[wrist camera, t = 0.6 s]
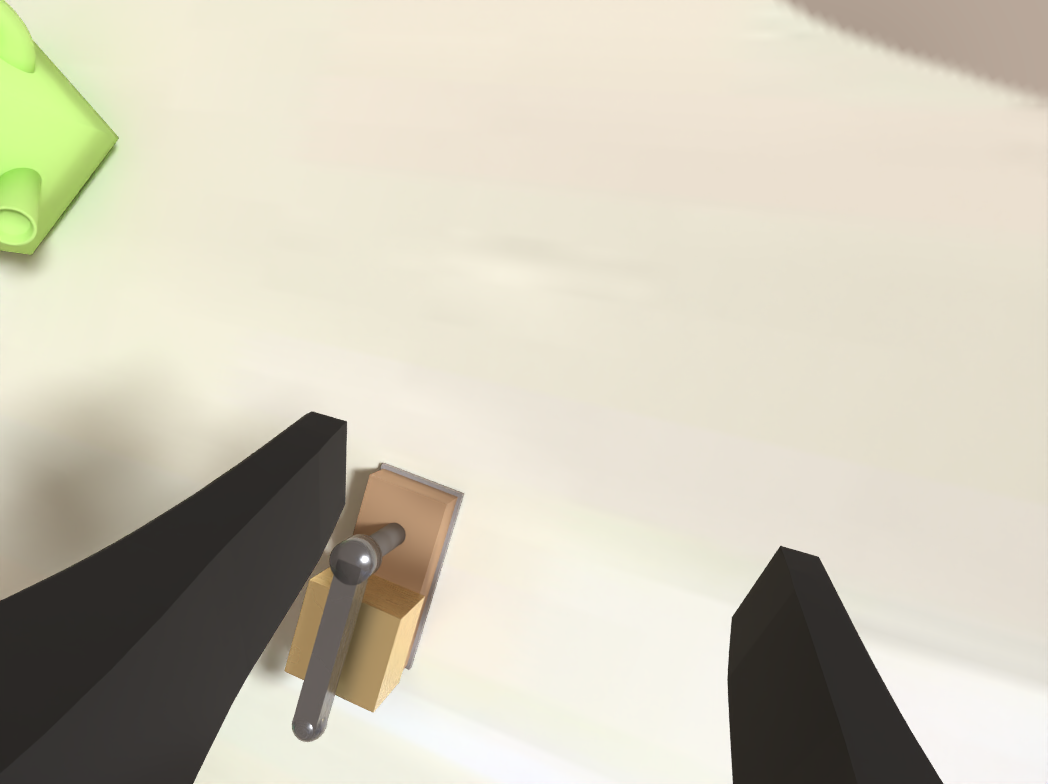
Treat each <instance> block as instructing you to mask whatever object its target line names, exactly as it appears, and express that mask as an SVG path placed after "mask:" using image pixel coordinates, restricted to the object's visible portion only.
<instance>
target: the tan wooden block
mask: <svg viewBox="0 0 1048 784" xmlns="http://www.w3.org/2000/svg"><path fill="white" fill-rule="evenodd" d="M332 579H333V573H332V571H331V568H330V567H329V568H327V569H326V570H324V571H322V572H321V573H319V574H318V575H316V576H315V577H313V578H311V579H310V580H309V583H308V587H307V590H306V594H305V598H304V601H303V605H302V609H301V612H300V616H299V620H298V623H297V627H296V630H295V634H294V638H293V641H292V645H291V649H290V652H289V656H288V660H287V663H286V667H285V672H287V673H289V674H292V675H294V676H296V677H298V678H300V679H302V680H304V679H305V675H306V672H307V668H308V665H309V661H310V657H311V654H312V650H313V647H314V643H315V640H316V636H317V632H318V629H319V625H320V622H321V618H322V615H323V611H324V607H325V604H326V600H327V597H328V593H329V590H330V586H331V582H332ZM424 598H425V596H423V595H421V594H419V593H416V592H414V591H412V590H409V589H407V588H404V587H402V586H400V585H397V584H395V583H393V582H390V581H388V580H385V579H383V578H381V577H378V576H376V575H374V574H373V575H371V576H370V577H369V578H368V582H367V585H366V589H365V592H364V596H363V599H362V603H361V606H360V609H359V613H358V616H357V620H356V623H355V627H354V630H353V634H352V637H351V641H350V644H349V648H348V651H347V655H346V658H345V662H344V665H343V669H342V672H341V676H340V679H339V682H338V686H337V689H336V693H335V695H337V696H339V697H341V698H343V699H345V700H347V701H349V702H352V703H354V704H356V705H358V706H360V707H362V708H364V709H367V710H369V711H371V712H374V711H375V710H376V709H377V708H378V707H379V705H380V704H381V703H382V702H383V701H384V700H385V698H386V697H387V696H388V695H389V694H390V692H391V691H392V690H393V689H394V688H395V687H396V685H397V684H398V683H399V681H400V678H401V674H402V671H403V668H404V664H405V661H406V658H407V654H408V651H409V648H410V644H411V641H412V638H413V634H414V631H415V628H416V625H417V621H418V618H419V615H420V611H421V608H422V605H423V601H424Z"/></svg>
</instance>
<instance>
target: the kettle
mask: <svg viewBox="0 0 1048 784" xmlns="http://www.w3.org/2000/svg"><path fill="white" fill-rule="evenodd" d="M118 139H119V137H118V136H117V135H116V134H115V133H114V132H113V130H112V129H111V128H110V127H109V126H108V125H107V124H106V122H105V121H104V120H103V119H102V118H101V117H100V116H99V115H98V113H97V112H96V111H95V110H94V109H93V108H92V107H91V105H90V104H89V103H88V102H87V101H86V100H85V99H84V98H83V96H82V95H81V94H80V93H79V92H78V91H77V90H76V88H75V87H74V86H73V85H72V84H71V83H70V82H69V81H68V79H67V78H66V77H65V76H64V75H63V74H62V73H61V71H60V70H59V69H58V68H57V67H56V66H55V65H54V64H53V62H52V61H51V60H50V59H49V58H48V57H47V56H46V55H45V53H44V52H43V51H42V50H41V49H40V48H39V47H38V46H37V44H36V43H35V42H34V41H33V40H32V37H31V35H30V33H29V31H28V29H27V27H26V25H25V24H24V22H23V21H22V20H21V18H20V17H19V16H18V15H17V13H16V12H15V11H14V10H13V8H12V7H10V6H9V5H8V4H7V3H6V2H5V1H4V0H0V251H7V252H15V253H22V254H30V255H32V254H33V253H34V251H35V250H36V249H37V247H38V246H39V244H40V243H41V242H42V240H43V239H44V238H45V236H46V235H47V234H48V232H49V231H50V230H51V228H52V227H53V226H54V224H55V223H56V222H57V220H58V219H59V218H60V216H61V215H62V214H63V212H64V211H65V210H66V208H67V207H68V206H69V204H70V203H71V202H72V200H73V199H74V198H75V196H76V195H77V194H78V192H79V191H80V190H81V188H82V187H83V186H84V184H85V183H86V182H87V180H88V179H89V178H90V176H91V175H92V174H93V172H94V171H95V170H96V168H97V167H98V166H99V164H100V163H101V162H102V160H103V159H104V158H105V156H106V155H107V154H108V152H109V151H110V149H111V148H112V147H113V145H114V144H115V143H116V141H117V140H118Z"/></svg>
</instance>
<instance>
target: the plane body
mask: <svg viewBox="0 0 1048 784" xmlns="http://www.w3.org/2000/svg"><path fill="white" fill-rule="evenodd" d="M463 496H464V493H462V492H459V491H456V490H454V489H451V488H449V487H446V486H443V485H441V484H438V483H436V482H433V481H430V480H428V479H425V478H422V477H420V476H417V475H415V474H412V473H409V472H407V471H404V470H401V469H399V468H396V467H394V466H391V465H388V464H386V463H383V464H382V465H381V468H380V470H379V471H377V472H375V473H372V474H370V476H369V479H368V483H367V486H366V490H365V493H364V497H363V501H362V504H361V508H360V511H359V515H358V518H357V522H356V525H355V529H354V533H353V536H354V535H357V534H364V535H368V536H370V537H371V538H373V539H374V540H375V541H376V542H377V543H378V545H379V546H380V549H381V552H382V563H381V566H380V568H379V569H378V570H377V571H376V572H375V573H374V575H376V576H378V577H381V578H383V579H385V580H388V581H390V582H393V583H395V584H397V585H400V586H402V587H404V588H407V589H409V590H412V591H414V592H416V593H419V594H421V595H423V596H425V598H424V601H423V605H422V608H421V611H420V615H419V618H418V621H417V625H416V628H415V631H414V634H413V638H412V641H411V644H410V648H409V651H408V654H407V658H406V661H405V664H404V668H406V669H408V670H410V668H411V667H412V664H413V660H414V657H415V654H416V650H417V647H418V644H419V641H420V637H421V634H422V631H423V627H424V624H425V621H426V618H427V614H428V611H429V608H430V604H431V601H432V598H433V594H434V591H435V588H436V585H437V581H438V578H439V575H440V571H441V568H442V565H443V562H444V558H445V555H446V552H447V548H448V545H449V542H450V539H451V535H452V532H453V529H454V525H455V522H456V519H457V515H458V512H459V509H460V506H461V502H462V499H463ZM404 668H403V669H404Z"/></svg>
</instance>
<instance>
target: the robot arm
mask: <svg viewBox="0 0 1048 784" xmlns="http://www.w3.org/2000/svg"><path fill="white" fill-rule="evenodd" d="M346 442H347V421H343V420H340V419H336V418H333V417H329V416H326V415H323V414H319V413H316V412H310V413H308V414H306V415H304V416H303V417H302V418H300V419H299V420H298V421H296V422H295V423H294V424H292V425H291V426H290V427H288V428H287V429H286V430H284V431H283V432H281V433H280V434H279V435H277V436H276V437H275V438H273V439H272V440H271V441H269V442H268V443H267V444H265V445H264V446H263V447H261V448H260V449H258V450H257V451H256V452H254V453H253V454H251V455H250V456H249V457H247V458H246V459H245V460H243V461H242V462H240V463H239V464H238V465H236V466H235V467H233V468H232V469H230V470H229V471H227V472H226V473H224V474H223V475H221V476H220V477H219V478H217V479H216V480H214V481H213V482H211V483H210V484H208V485H207V486H205V487H204V488H202V489H201V490H200V491H198V492H197V493H195V494H194V495H192V496H190V497H189V498H187V499H186V500H184V501H183V502H181V503H179V504H178V505H176V506H175V507H173V508H171V509H170V510H168V511H167V512H165V513H163V514H162V515H160V516H158V517H157V518H155V519H154V520H152V521H150V522H149V523H147V524H146V525H144V526H142V527H141V528H139V529H137V530H136V531H134V532H132V533H131V534H129V535H127V536H125V537H124V538H122V539H120V540H118V541H117V542H115V543H113V544H111V545H110V546H108V547H106V548H104V549H102V550H101V551H99V552H97V553H95V554H93V555H91V556H89V557H88V558H86V559H84V560H82V561H80V562H78V563H76V564H74V565H72V566H71V567H69V568H67V569H65V570H63V571H61V572H59V573H57V574H55V575H53V576H51V577H49V578H47V579H45V580H42V581H40V582H38V583H36V584H34V585H32V586H30V587H28V588H26V589H24V590H22V591H20V592H18V593H16V594H14V595H12V596H10V597H8V598H5V599H3V600H1V601H0V784H193V783H194V781H195V779H196V776H197V774H198V772H199V770H200V768H201V766H202V764H203V762H204V760H205V758H206V756H207V754H208V752H209V750H210V748H211V746H212V744H213V742H214V740H215V738H216V736H217V734H218V731H219V729H220V727H221V725H222V723H223V721H224V719H225V717H226V715H227V713H228V711H229V709H230V707H231V705H232V703H233V701H234V700H235V698H236V696H237V694H238V693H239V691H240V689H241V687H242V685H243V684H244V682H245V680H246V678H247V677H248V675H249V673H250V672H251V670H252V668H253V667H254V665H255V663H256V662H257V660H258V659H259V657H260V655H261V654H262V652H263V651H264V649H265V647H266V646H267V644H268V642H269V641H270V639H271V638H272V636H273V634H274V633H275V631H276V629H277V628H278V626H279V625H280V623H281V621H282V620H283V618H284V617H285V615H286V613H287V612H288V610H289V608H290V607H291V605H292V604H293V602H294V600H295V599H296V597H297V595H298V594H299V592H300V591H301V589H302V587H303V586H304V584H305V582H306V581H307V579H308V577H309V576H310V574H311V573H312V571H313V569H314V568H315V566H316V564H317V562H318V561H319V559H320V557H321V555H322V553H323V551H324V549H325V547H326V545H327V543H328V541H329V538H330V536H331V534H332V532H333V530H334V528H335V525H336V523H337V521H338V519H339V517H340V514H341V512H342V510H343V508H344V505H345V489H346ZM728 702H729V722H730V740H731V758H732V775H733V784H943V782H942V781H941V779H940V778H939V776H938V774H937V773H936V771H935V769H934V768H933V766H932V764H931V763H930V761H929V760H928V758H927V756H926V755H925V753H924V751H923V750H922V748H921V746H920V745H919V743H918V742H917V740H916V738H915V737H914V735H913V733H912V732H911V730H910V728H909V726H908V725H907V723H906V721H905V720H904V718H903V716H902V714H901V713H900V711H899V709H898V707H897V705H896V704H895V702H894V700H893V698H892V696H891V695H890V693H889V691H888V689H887V687H886V685H885V684H884V682H883V680H882V678H881V676H880V675H879V673H878V671H877V669H876V667H875V665H874V664H873V662H872V660H871V658H870V656H869V654H868V652H867V650H866V648H865V646H864V645H863V643H862V641H861V639H860V637H859V635H858V633H857V631H856V629H855V627H854V625H853V623H852V621H851V619H850V617H849V615H848V613H847V611H846V609H845V607H844V606H843V604H842V602H841V600H840V598H839V596H838V594H837V592H836V590H835V588H834V586H833V584H832V582H831V580H830V578H829V576H828V574H827V572H826V570H825V568H824V566H823V564H822V562H821V560H820V558H819V557H817V556H814V555H810V554H807V553H803V552H800V551H796V550H793V549H789V548H786V547H782V546H780V547H779V549H778V550H777V552H776V553H775V555H774V556H773V558H772V559H771V561H770V562H769V564H768V565H767V567H766V568H765V570H764V571H763V572H762V574H761V575H760V577H759V578H758V580H757V581H756V583H755V584H754V586H753V587H752V589H751V590H750V592H749V593H748V595H747V596H746V598H745V599H744V600H743V602H742V603H741V605H740V606H739V608H738V609H737V611H736V612H735V614H734V615H733V617H732V623H731V635H730V647H729V662H728Z"/></svg>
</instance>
